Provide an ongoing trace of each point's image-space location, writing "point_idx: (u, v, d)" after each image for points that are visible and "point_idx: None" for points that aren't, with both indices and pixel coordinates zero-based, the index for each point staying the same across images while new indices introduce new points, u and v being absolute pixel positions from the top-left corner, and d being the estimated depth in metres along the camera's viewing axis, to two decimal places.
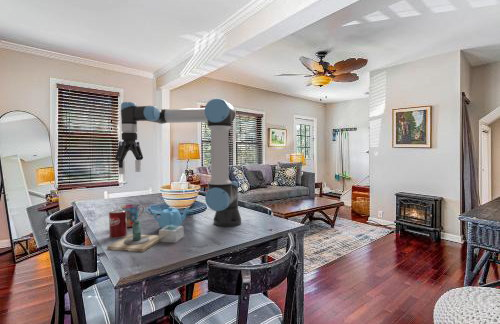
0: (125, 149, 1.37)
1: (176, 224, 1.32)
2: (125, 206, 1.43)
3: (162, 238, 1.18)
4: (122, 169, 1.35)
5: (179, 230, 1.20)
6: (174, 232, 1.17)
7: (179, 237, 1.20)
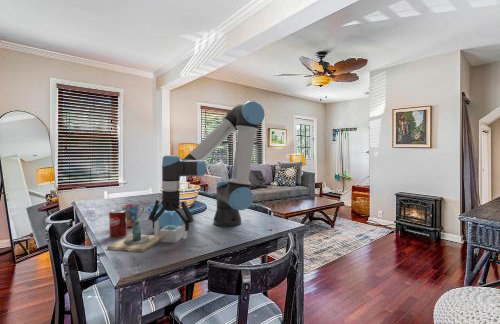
0: None
1: (176, 224, 1.32)
2: (125, 206, 1.43)
3: (162, 238, 1.18)
4: None
5: (179, 230, 1.20)
6: (174, 232, 1.17)
7: (179, 237, 1.20)
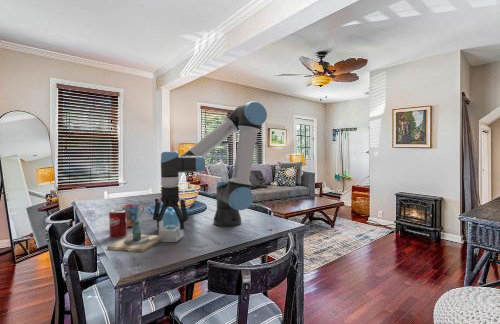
0: None
1: (176, 224, 1.32)
2: (125, 206, 1.43)
3: (162, 238, 1.18)
4: None
5: None
6: (174, 231, 1.17)
7: None
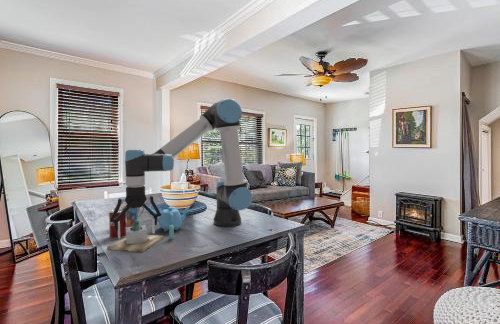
0: (125, 207, 1.12)
1: (176, 224, 1.32)
2: None
3: (131, 239, 1.11)
4: (118, 232, 1.11)
5: None
6: (145, 231, 1.13)
7: None
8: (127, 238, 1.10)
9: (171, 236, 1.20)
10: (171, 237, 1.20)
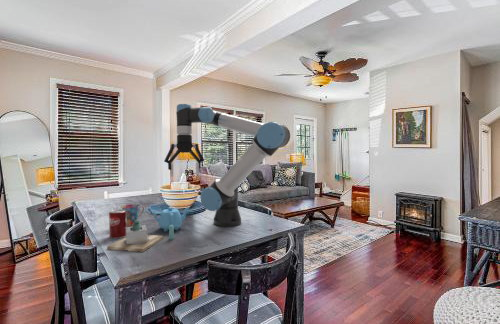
0: (176, 151, 1.37)
1: (176, 224, 1.32)
2: (125, 206, 1.43)
3: (131, 239, 1.11)
4: (171, 171, 1.36)
5: None
6: (145, 231, 1.13)
7: None
8: (127, 238, 1.10)
9: (171, 236, 1.20)
10: (171, 237, 1.20)
